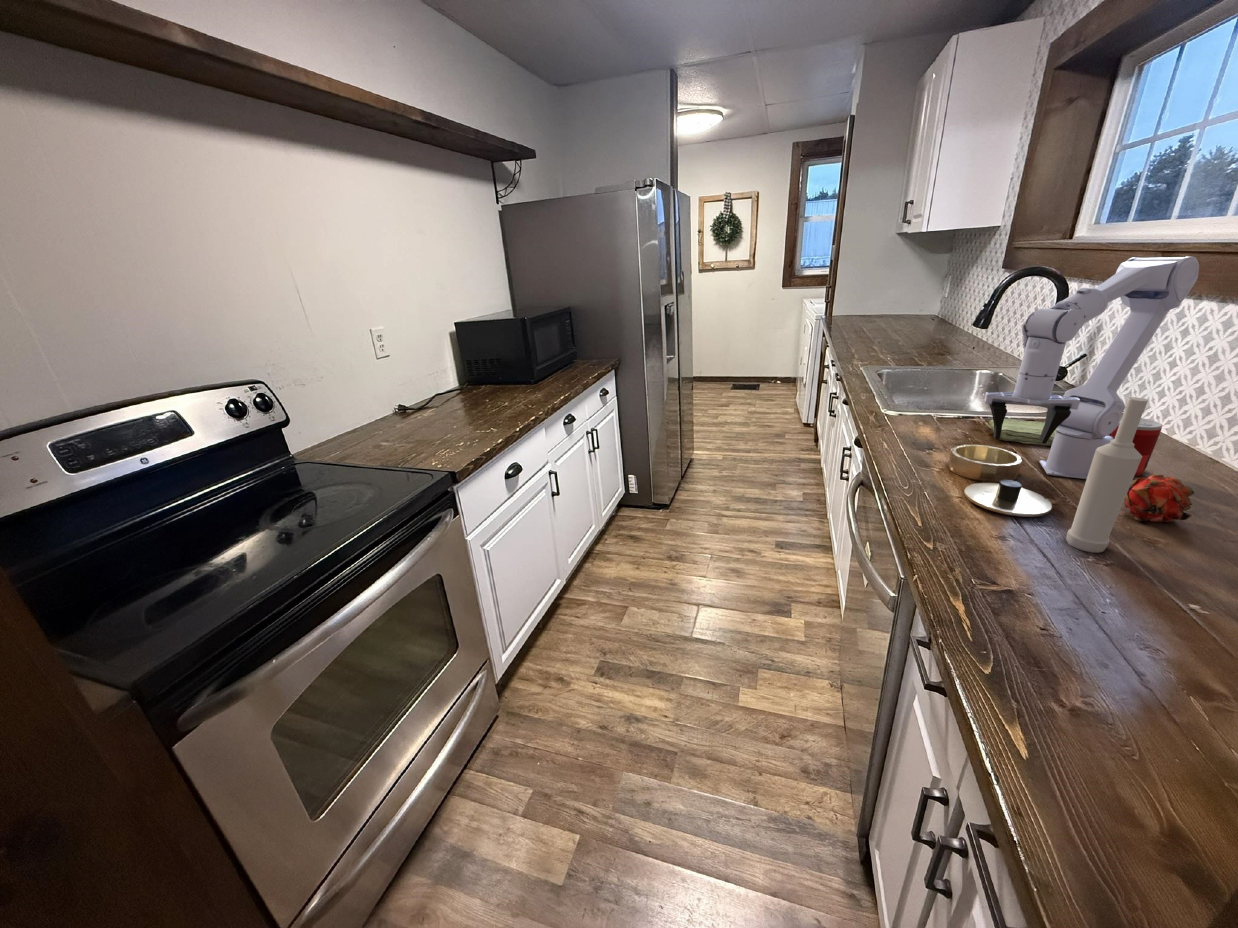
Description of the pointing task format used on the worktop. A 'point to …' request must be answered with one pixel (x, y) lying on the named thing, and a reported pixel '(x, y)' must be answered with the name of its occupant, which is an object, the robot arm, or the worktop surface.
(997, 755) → the worktop surface
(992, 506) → the lid
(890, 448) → the worktop surface
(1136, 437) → the canned food
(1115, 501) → the bottle
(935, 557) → the worktop surface
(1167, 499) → the dragon fruit
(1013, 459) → the pot
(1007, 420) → the washcloth
